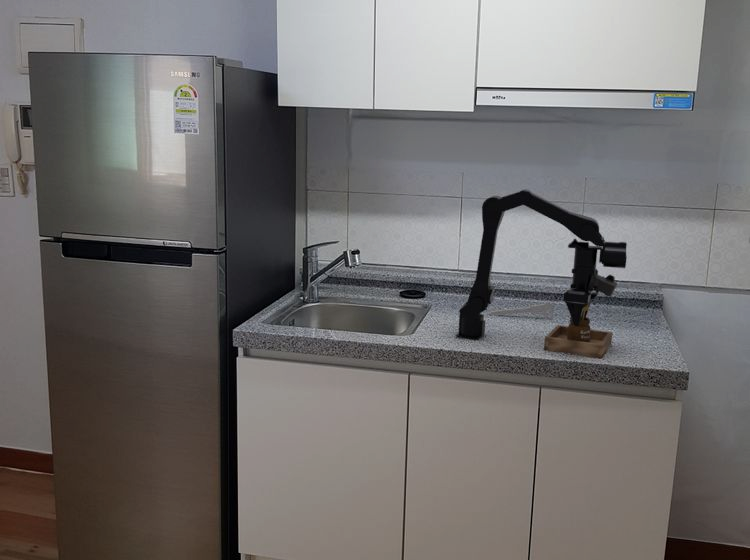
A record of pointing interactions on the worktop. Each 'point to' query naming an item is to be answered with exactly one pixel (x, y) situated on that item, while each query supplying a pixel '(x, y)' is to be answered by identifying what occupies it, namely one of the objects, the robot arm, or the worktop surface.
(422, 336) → the worktop surface
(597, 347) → the tray
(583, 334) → the utensil holder
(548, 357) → the worktop surface
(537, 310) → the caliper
